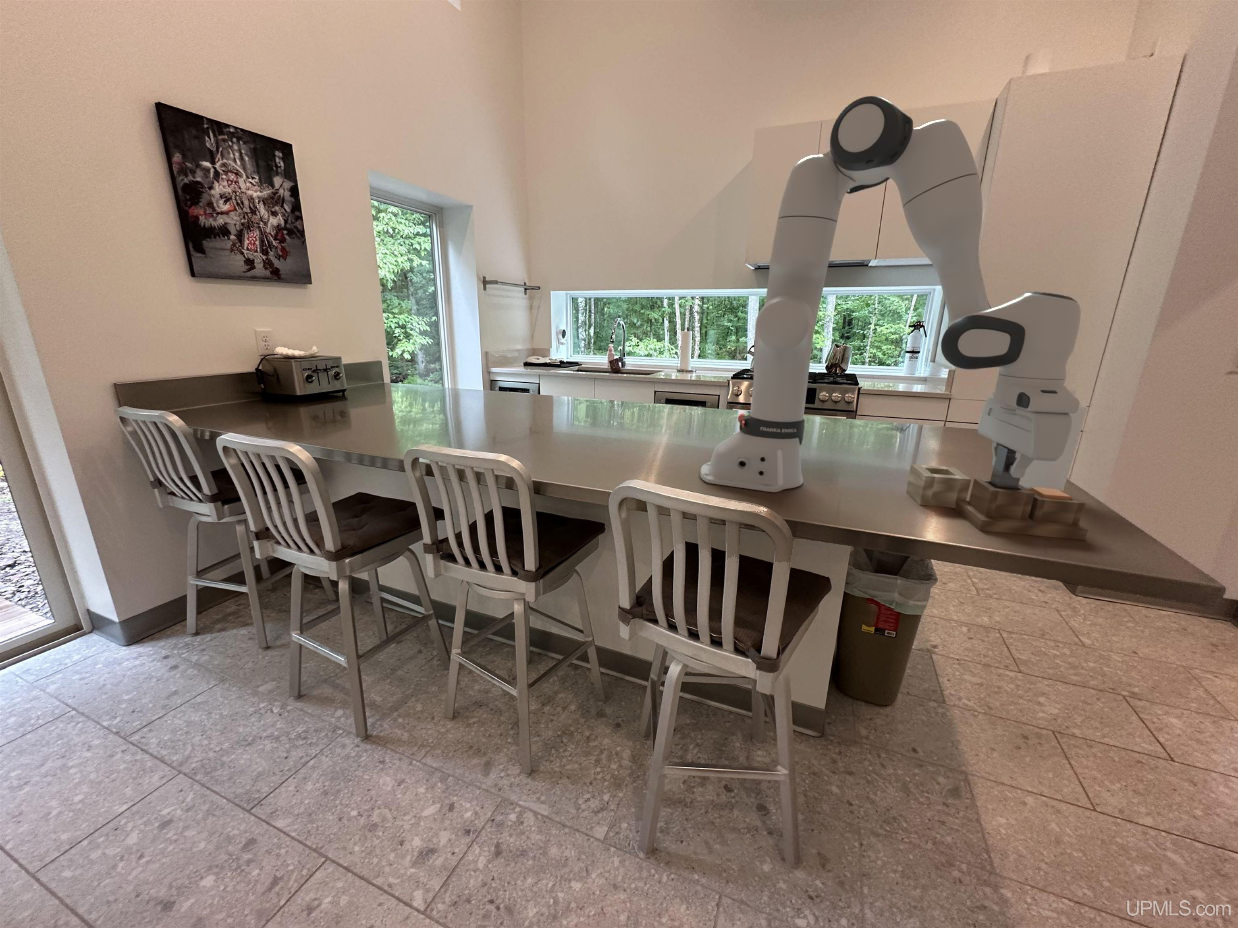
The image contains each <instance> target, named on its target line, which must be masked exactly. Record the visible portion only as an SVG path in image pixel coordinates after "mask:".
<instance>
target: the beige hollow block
mask: <svg viewBox="0 0 1238 928" xmlns="http://www.w3.org/2000/svg"><path fill="white" fill-rule="evenodd" d="M971 483H972V479H971V478H970V477H969V476H967V475H966V474H964V473H962V471H960V470H958V469H957V468H956V467H951V466H939V465H925V464H924V465H923V464H911V465H910V470H909V475H908V480H907V485H906V489H905V492H906V493H907V494H908V495H909V496H910V497H911V498H912V499H913V500H914V501H915V502H916V503H917V504H918V505H919V506H928V507H931V506H932V507H940V508H954V509H955V508H956V504H957V500H966V501H968V499H967V498H968V495H969V490H970V485H971Z"/></svg>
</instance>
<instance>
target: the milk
mask: <svg viewBox="0 0 1238 928" xmlns="http://www.w3.org/2000/svg"><path fill="white" fill-rule="evenodd" d="M1068 390H1069V392H1070V393H1071V394H1072V395H1073V396H1075V397H1076V392H1077V390H1076V389H1068ZM1079 402H1080V405H1079V409H1078V411H1077V413H1074V414H1071V413H1068V414H1069V415H1070V416H1071V418H1072V427H1071V431H1070V434H1069V438H1068V441H1067V444H1066V447H1065V450H1064V452H1063V454H1062V456H1061V457H1060V458H1059V459H1058V460H1056V461H1041V460H1034V461H1033V462H1032V463H1031V464H1030V465H1029V466H1028V468H1026V471H1025V475H1024V477H1023V478H1020V481H1019V484H1020V485H1021V486H1023V487H1028V488H1031V487H1037V488H1050V489H1058V490H1061V491H1063V492H1064V490H1065V486H1066V483H1067V480H1068V476H1069V473H1070V470H1071V466H1072V463H1073V459H1074V456H1075V453H1076V448H1077V446H1078V442H1079V438H1080V435H1081V432H1082V429H1083V428H1082V427H1083V425H1084V422H1085V418H1086V416H1087V411H1088V407H1087V405H1085V404H1083V402H1081V401H1080V400H1079Z"/></svg>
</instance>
